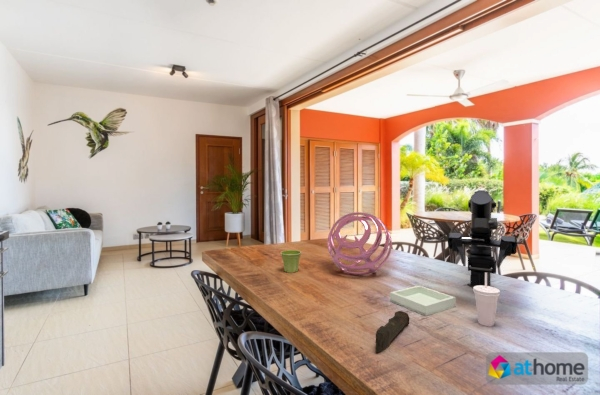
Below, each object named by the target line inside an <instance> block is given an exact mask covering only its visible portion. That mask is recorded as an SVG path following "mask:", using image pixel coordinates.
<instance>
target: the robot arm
mask: <svg viewBox="0 0 600 395" xmlns="http://www.w3.org/2000/svg"><path fill="white" fill-rule="evenodd" d="M489 193H490V192H489V191H486V190H485V189H482V190H481V189H478V190H477V191H474V193H473V194H472V195H471V196H470V199H468V201H467V202H468V204H467V205H468V210H469V211H470V213H471V216H470V217H471V218H470V219H471V220H470V230H469V233H470V234H469V236H470V237H463V236H462V233H461V232H460V233H459V232H449V233H448V234H447V245H448V246H447V248H448V249H449V250H452V251H453V252H456V254H457V255H458V257H459V259H460V262H461V264H462V265H464V264H465V255H464V248H463V245H467V246H468V245H470V249H469V250H470V251H469V254H467V271H468V272H470V275H469V276H470V278H469V280H470V282H469V283H467V285H466V286H468V287H471V288H473V287H474V286H478V285H483V286H485V272H486V273H487V286H490V287H494V286H492V285H491V274H495V273H497V268H498V269H499V268H500V267H501V265H502V263H503V261H504V260H505V259H506V257H507V256H509V257H510V256H512V255H516V254H517V247H518V238H517V237H516V236H512V235H511V236H510V235H501V236H500V240H497V239H495V240H494V239H492V236H493V235H492V234H493V233H492V230H496V231H497V229H498V218H497V217H492V213H494V211H495V208H497V202H496V201H495V200H494V199H493V197H492V196H491V194H489ZM492 248H497V249H498V248H499V250H498V256H497V260H496V258H495V257H494V256H493V251H492Z"/></svg>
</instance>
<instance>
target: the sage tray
mask: <svg viewBox="0 0 600 395" xmlns="http://www.w3.org/2000/svg"><path fill="white" fill-rule="evenodd" d="M389 297H390V298H389V299H390V300H389V301H390V302H391V303H394V304H395V305H398V306H401V307H403V308H405V309H407V310H409V311H412V312H415V313H417V314H420V315H422V316H424V317H427V316H431V315H434V314H438V313H440V312H443V311H447V310H449V309H453V308H456V300H457V299H456V296H454V295H450V294H447V293H443V292H441V291H437V290H434V289H432V288H428V287H425V286H422V285H420V284H419V285H415V286H411V287H407V288H403V289H399V290H394V291H390V292H389Z"/></svg>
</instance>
